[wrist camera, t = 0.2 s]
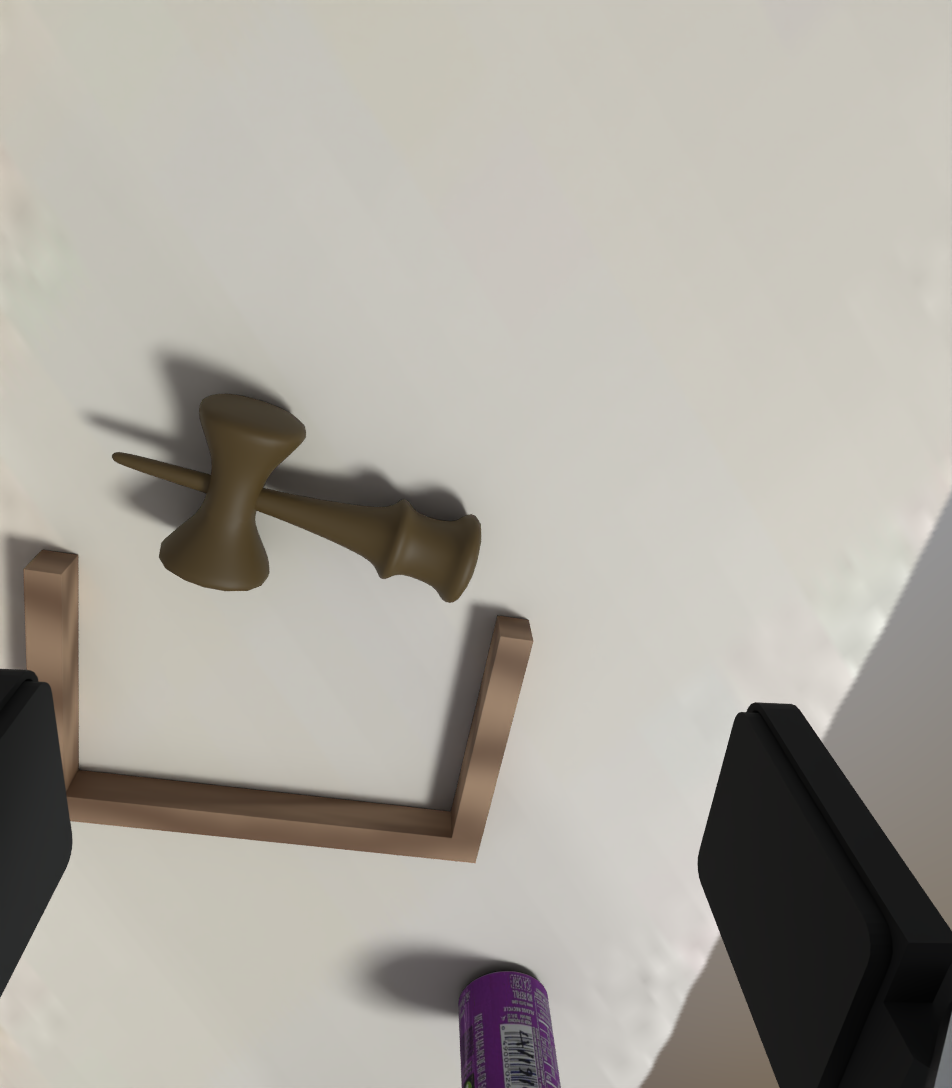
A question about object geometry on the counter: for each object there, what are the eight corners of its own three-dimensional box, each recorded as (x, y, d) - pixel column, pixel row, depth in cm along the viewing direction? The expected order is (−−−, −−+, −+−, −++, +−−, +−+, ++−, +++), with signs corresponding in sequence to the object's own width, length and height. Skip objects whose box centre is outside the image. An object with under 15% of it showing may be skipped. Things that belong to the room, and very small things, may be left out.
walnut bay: (42, 549, 48) (23, 569, 46) (528, 619, 52) (533, 641, 50) (47, 789, 55) (31, 816, 53) (473, 835, 59) (475, 863, 57)
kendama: (441, 607, 52) (111, 515, 48) (496, 469, 49) (146, 355, 44) (447, 659, 47) (75, 560, 42) (509, 507, 43) (112, 382, 39)
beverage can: (440, 990, 66) (442, 1154, 55) (511, 949, 64) (529, 1110, 54) (493, 1034, 69) (506, 1199, 58) (563, 995, 67) (590, 1158, 56)
